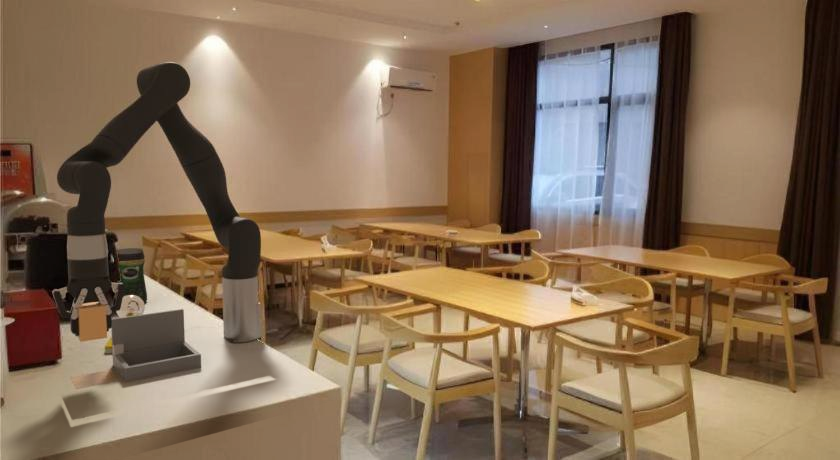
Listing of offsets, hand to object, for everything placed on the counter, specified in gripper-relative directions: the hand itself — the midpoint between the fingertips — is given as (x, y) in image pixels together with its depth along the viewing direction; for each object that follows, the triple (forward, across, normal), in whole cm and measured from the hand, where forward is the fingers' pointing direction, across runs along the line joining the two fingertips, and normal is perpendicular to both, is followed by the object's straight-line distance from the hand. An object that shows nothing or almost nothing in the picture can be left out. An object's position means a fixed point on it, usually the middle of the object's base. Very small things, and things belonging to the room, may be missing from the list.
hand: (91, 332), depth 129 cm
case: (+11, -13, 0) cm, 17 cm away
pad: (+11, 0, 0) cm, 11 cm away
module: (+1, 0, 0) cm, 1 cm away
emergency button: (+12, -12, -19) cm, 26 cm away
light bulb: (+11, -14, -30) cm, 35 cm away
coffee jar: (+11, -23, -72) cm, 76 cm away
